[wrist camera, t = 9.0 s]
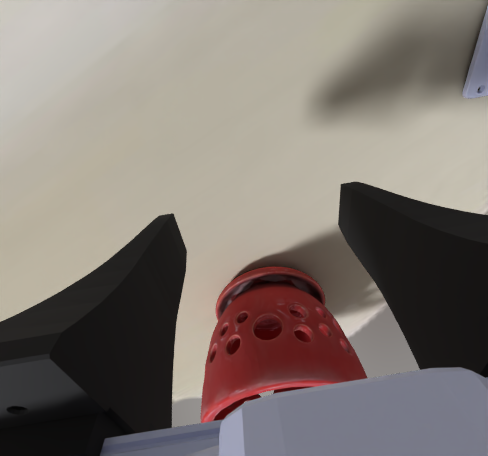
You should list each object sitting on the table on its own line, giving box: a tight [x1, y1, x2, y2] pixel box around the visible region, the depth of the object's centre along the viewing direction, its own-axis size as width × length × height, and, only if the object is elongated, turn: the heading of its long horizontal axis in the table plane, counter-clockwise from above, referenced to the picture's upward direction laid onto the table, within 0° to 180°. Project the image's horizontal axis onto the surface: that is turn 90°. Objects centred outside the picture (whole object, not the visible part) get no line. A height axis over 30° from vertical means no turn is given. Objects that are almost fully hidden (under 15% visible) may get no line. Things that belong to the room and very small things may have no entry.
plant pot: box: [201, 267, 367, 423], centre depth 24 cm, size 13×13×12 cm
